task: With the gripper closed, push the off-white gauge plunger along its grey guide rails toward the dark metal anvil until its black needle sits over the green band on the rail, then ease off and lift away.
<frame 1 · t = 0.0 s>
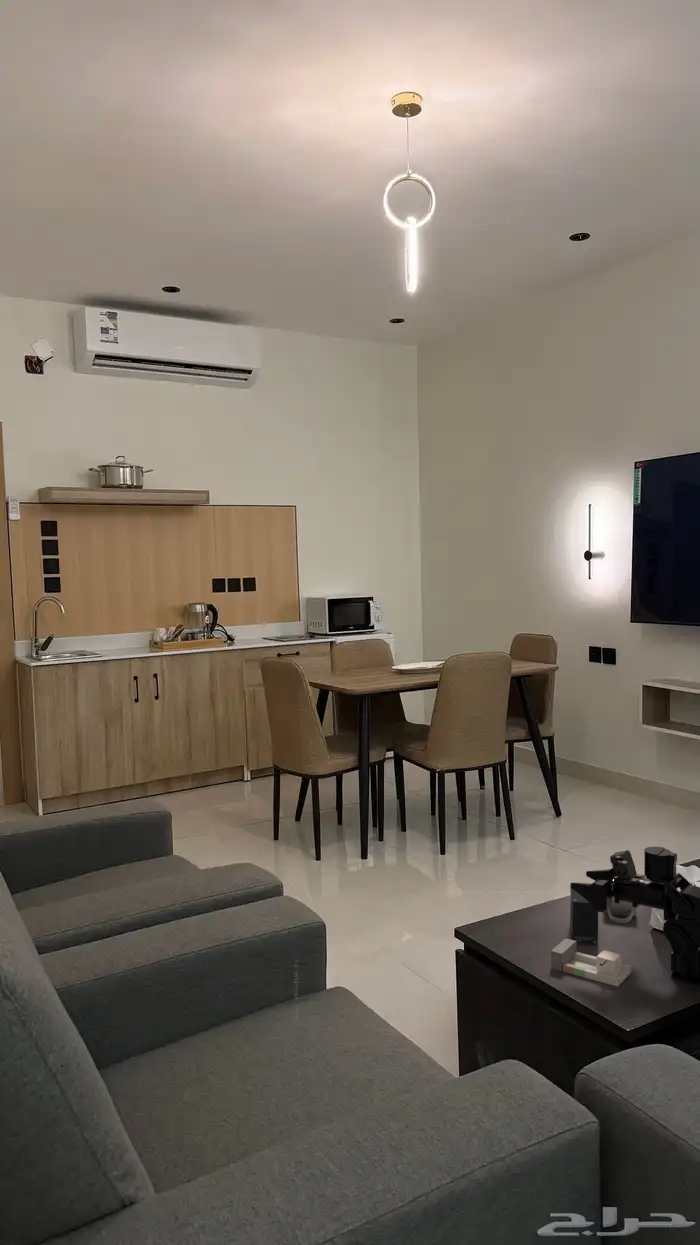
hand: (578, 879, 205), 17 cm above the table, tool horizontal, fingers open, 9 cm apart
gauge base: (591, 970, 194), on the table
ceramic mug: (621, 916, 224), on the table
small box: (584, 936, 213), on the table
gauge plunger: (606, 966, 191), point 2 cm above the table, slide at 0.0 cm
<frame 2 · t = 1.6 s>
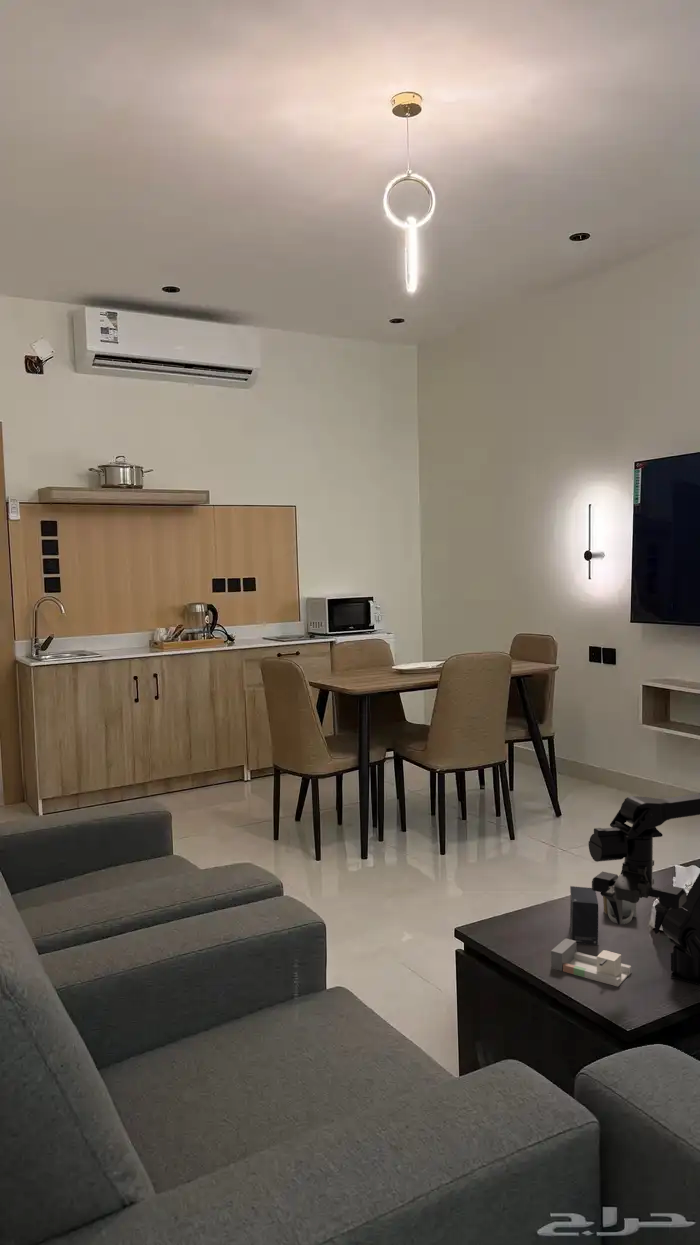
hand: (637, 928, 187), 12 cm above the table, tool pointing down, fingers open, 8 cm apart
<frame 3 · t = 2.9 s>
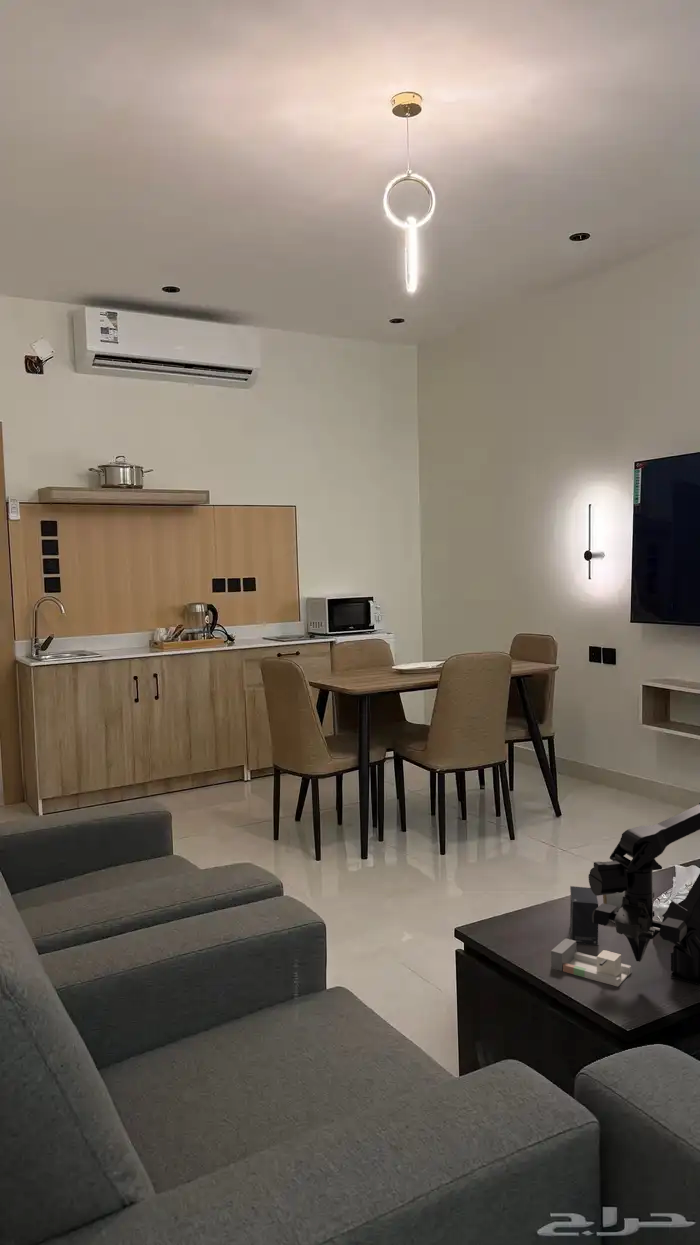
hand: (638, 960, 188), 5 cm above the table, tool pointing down, fingers closed
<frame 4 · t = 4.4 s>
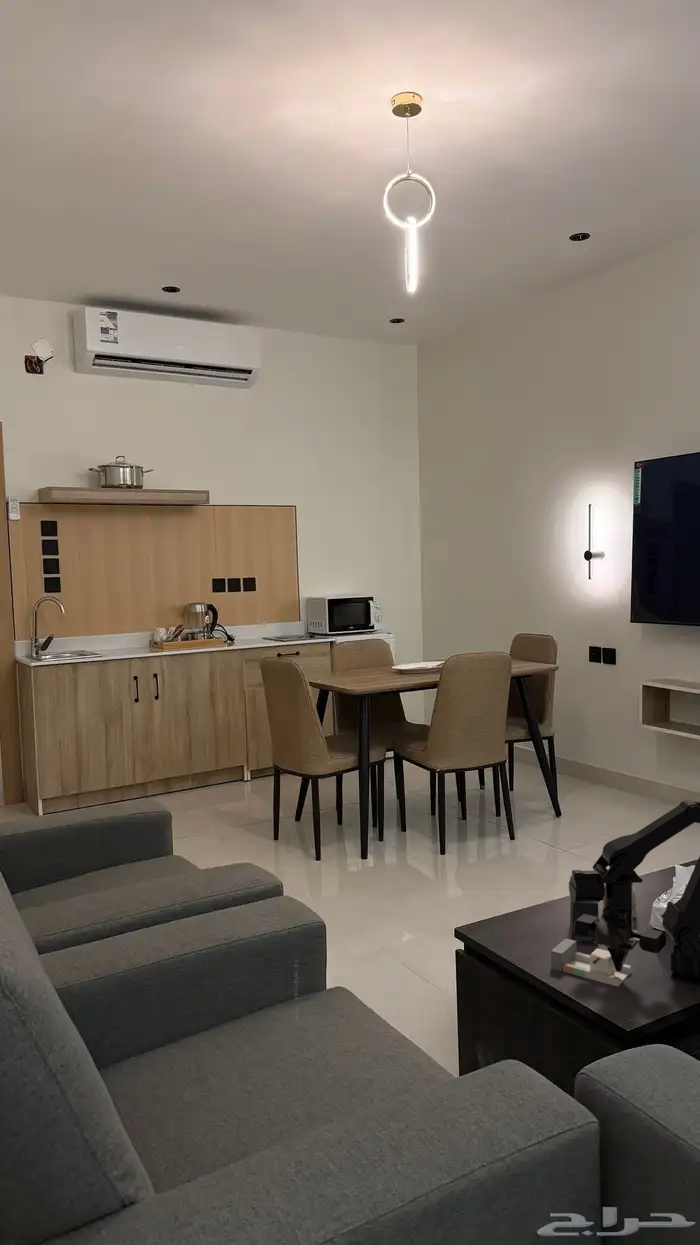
hand: (618, 971, 190), 2 cm above the table, tool pointing down, fingers closed
gauge plunger: (599, 964, 192), point 2 cm above the table, slide at 1.5 cm, touching gripper
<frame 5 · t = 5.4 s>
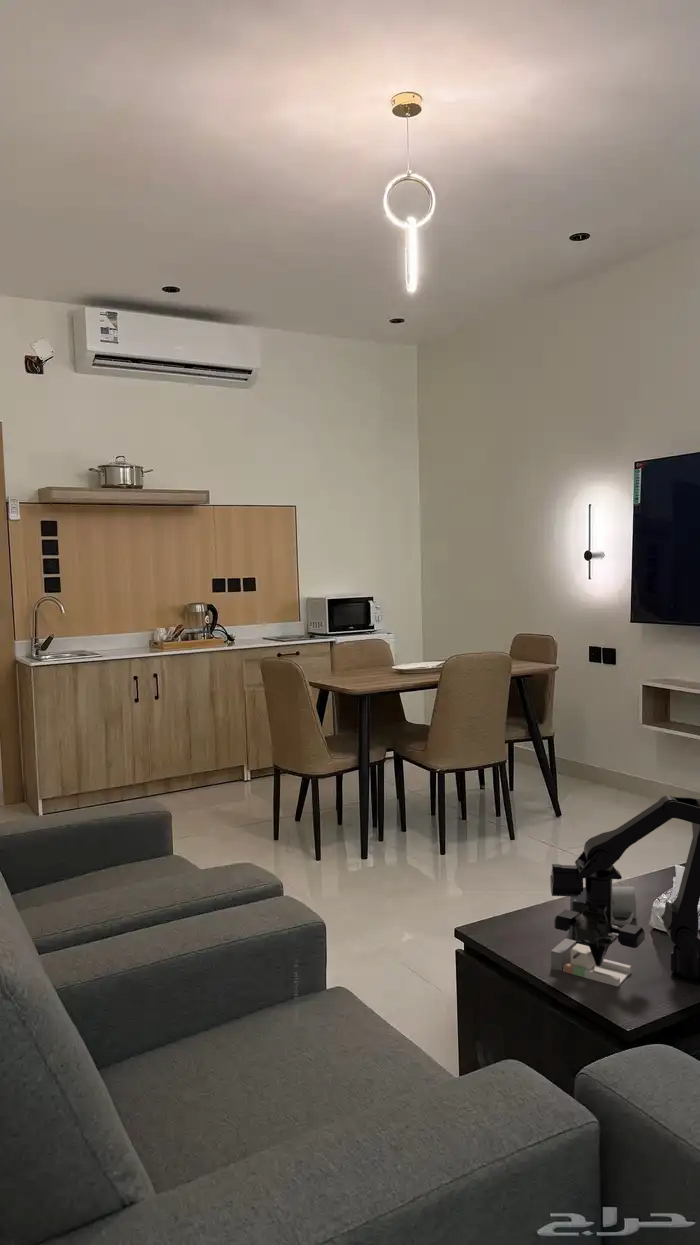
hand: (598, 965, 193), 2 cm above the table, tool pointing down, fingers closed
gauge plunger: (580, 959, 194), point 2 cm above the table, slide at 6.0 cm, touching gripper
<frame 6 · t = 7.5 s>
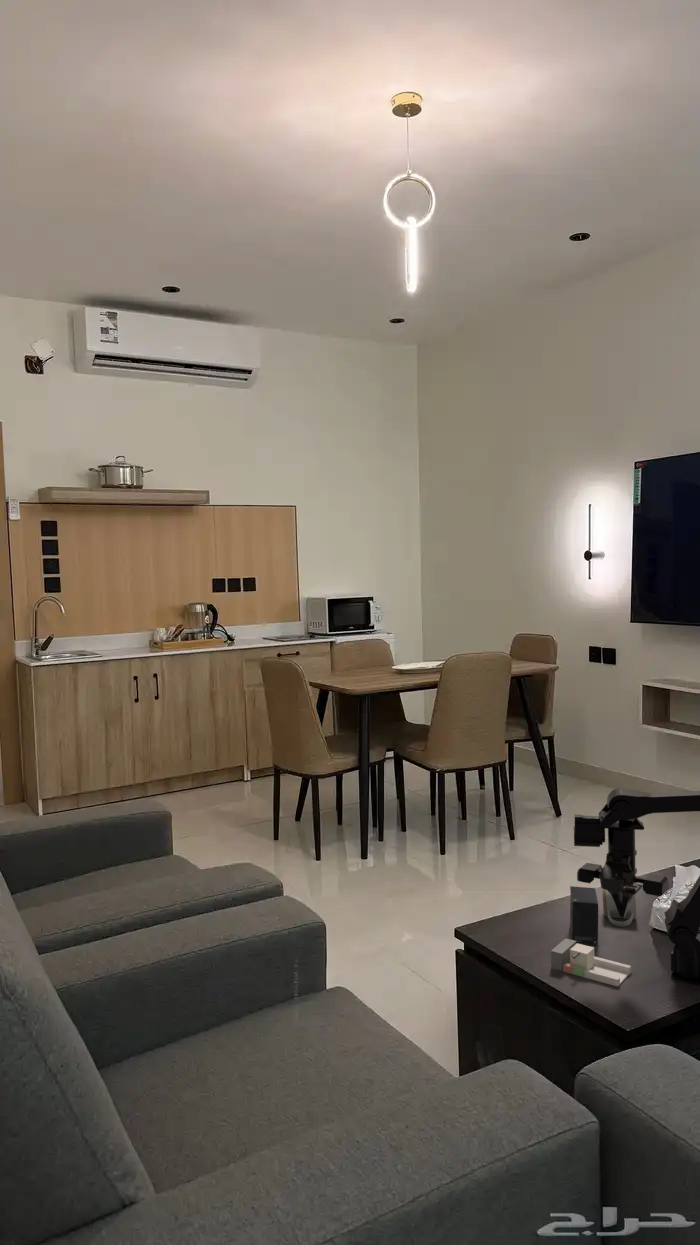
hand: (622, 916, 193), 12 cm above the table, tool pointing down, fingers closed
gauge plunger: (579, 959, 194), point 2 cm above the table, slide at 6.2 cm
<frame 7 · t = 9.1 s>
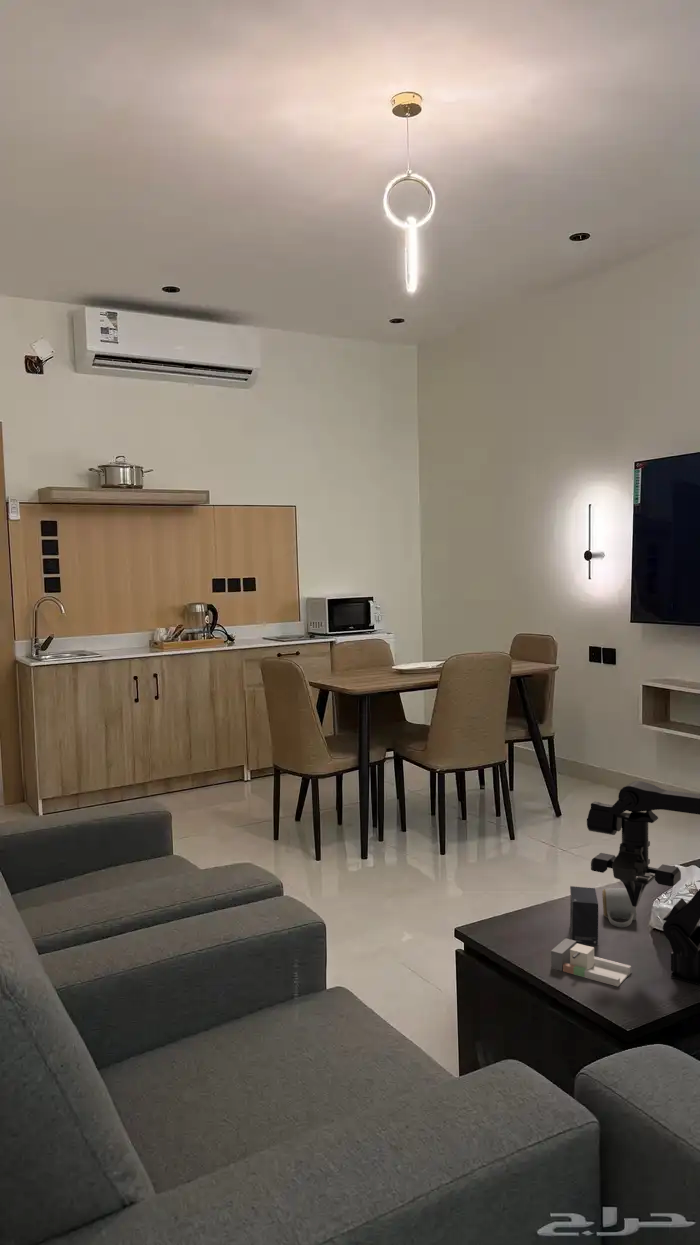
hand: (635, 906, 197), 13 cm above the table, tool pointing down, fingers closed
at the end: gauge plunger slide at 6.2 cm; gauge plunger touching nothing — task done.
